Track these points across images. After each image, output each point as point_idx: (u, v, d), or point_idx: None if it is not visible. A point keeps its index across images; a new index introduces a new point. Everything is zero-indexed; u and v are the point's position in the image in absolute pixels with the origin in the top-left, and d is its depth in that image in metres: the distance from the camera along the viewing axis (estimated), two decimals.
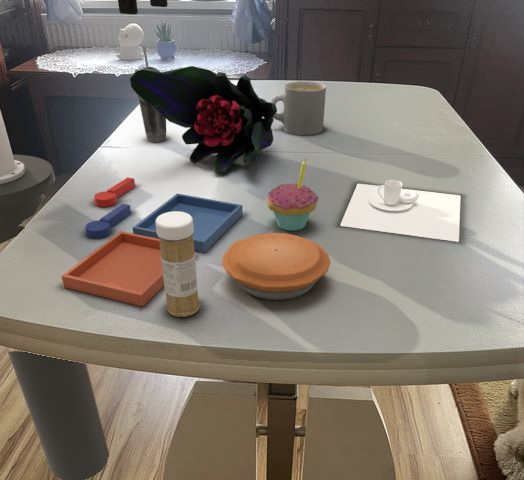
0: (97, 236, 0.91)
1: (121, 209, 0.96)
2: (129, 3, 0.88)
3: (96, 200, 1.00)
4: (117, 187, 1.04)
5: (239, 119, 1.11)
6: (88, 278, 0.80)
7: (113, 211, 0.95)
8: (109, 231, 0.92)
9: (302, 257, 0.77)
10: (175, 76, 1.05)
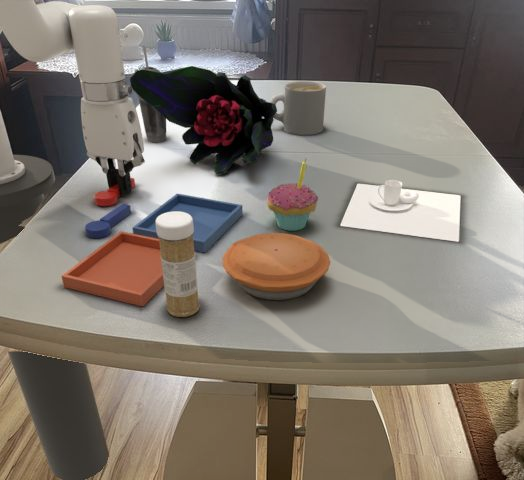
0: (97, 236, 0.91)
1: (121, 209, 0.96)
2: None
3: (96, 199, 1.00)
4: (117, 187, 1.04)
5: (239, 119, 1.11)
6: (88, 278, 0.80)
7: (113, 211, 0.95)
8: (109, 231, 0.92)
9: (302, 257, 0.77)
10: (175, 76, 1.05)
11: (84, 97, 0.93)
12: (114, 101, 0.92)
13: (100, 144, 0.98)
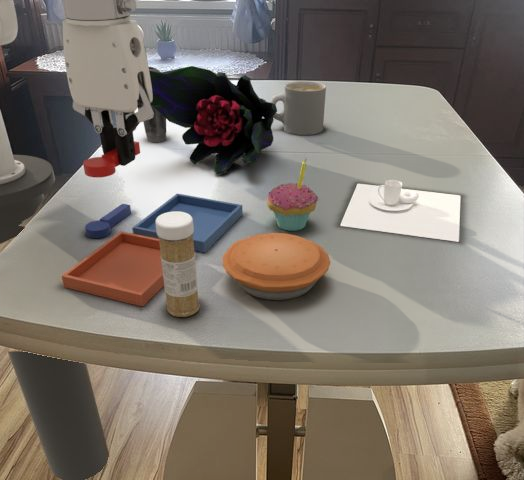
0: (97, 236, 0.91)
1: (121, 209, 0.96)
2: None
3: (86, 168, 0.71)
4: (115, 152, 0.75)
5: (239, 119, 1.11)
6: (88, 278, 0.80)
7: (113, 211, 0.95)
8: (109, 231, 0.92)
9: (302, 257, 0.77)
10: (175, 76, 1.05)
11: (67, 16, 0.64)
12: (110, 20, 0.63)
13: (91, 89, 0.69)
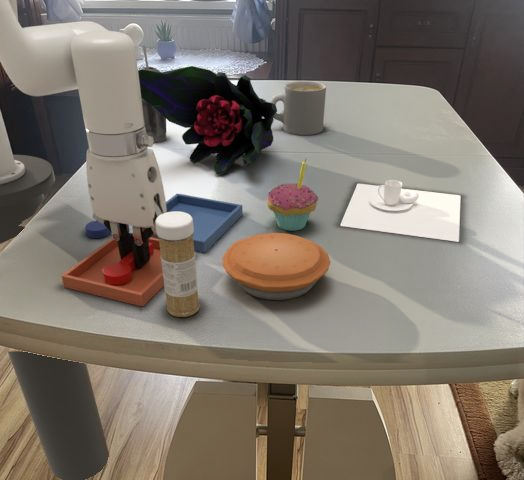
0: (97, 236, 0.91)
1: None
2: None
3: (106, 276, 0.78)
4: (132, 257, 0.82)
5: (239, 119, 1.11)
6: (88, 278, 0.80)
7: None
8: (109, 231, 0.92)
9: (302, 257, 0.77)
10: (175, 76, 1.05)
11: (91, 150, 0.71)
12: (130, 155, 0.70)
13: (111, 207, 0.76)
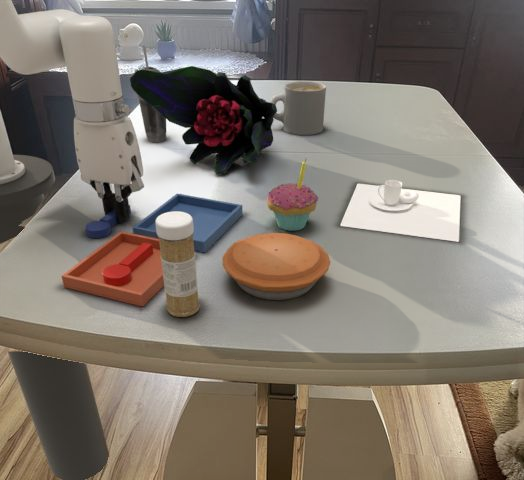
0: (97, 236, 0.91)
1: None
2: None
3: (106, 278, 0.78)
4: (131, 258, 0.82)
5: (239, 119, 1.11)
6: (88, 278, 0.80)
7: (113, 211, 0.95)
8: (109, 231, 0.92)
9: (302, 257, 0.77)
10: (175, 76, 1.05)
11: (77, 117, 0.84)
12: (110, 121, 0.83)
13: (95, 168, 0.89)
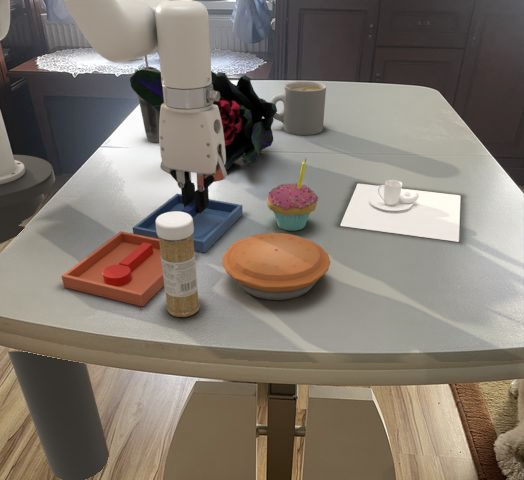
0: None
1: None
2: (183, 200, 0.94)
3: (106, 278, 0.78)
4: (131, 258, 0.82)
5: (239, 119, 1.11)
6: (88, 278, 0.80)
7: (192, 202, 0.94)
8: None
9: (302, 257, 0.77)
10: None
11: (166, 104, 0.83)
12: (200, 108, 0.82)
13: (179, 156, 0.88)
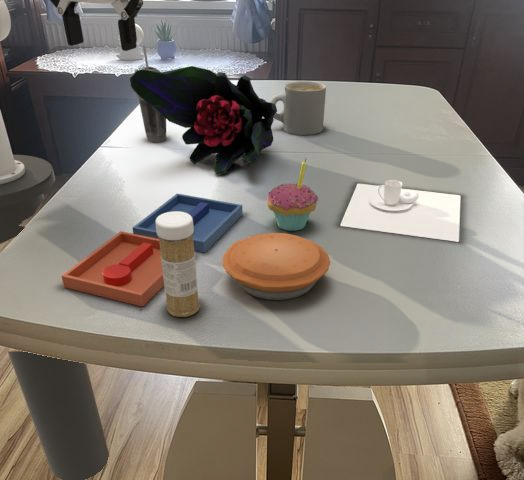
0: None
1: (201, 208, 0.96)
2: None
3: (106, 278, 0.78)
4: (131, 258, 0.82)
5: (239, 119, 1.11)
6: (88, 278, 0.80)
7: (194, 210, 0.95)
8: None
9: (302, 257, 0.77)
10: (175, 76, 1.05)
11: None
12: None
13: None
